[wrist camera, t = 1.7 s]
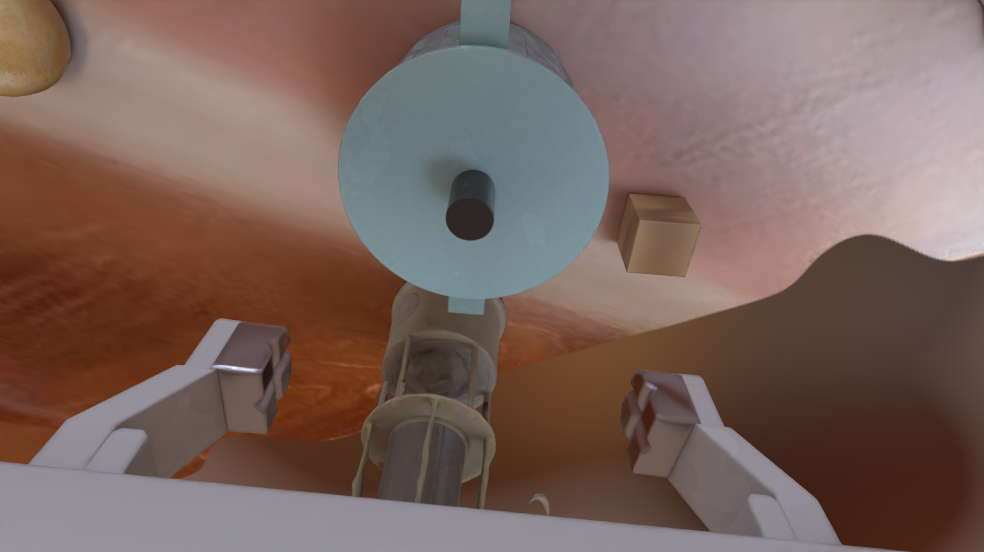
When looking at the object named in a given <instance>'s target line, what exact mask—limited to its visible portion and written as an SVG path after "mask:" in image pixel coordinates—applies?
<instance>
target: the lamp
mask: <svg viewBox="0 0 984 552" xmlns="http://www.w3.org/2000/svg"><path fill="white" fill-rule="evenodd" d="M391 319H392V325H391V328H390V333H389V340H388V344H387V348H386V352H385V355H384V358H383V362H382V376H383V380H384V382H383V388H382V391H381V394H380V397H379V402H378V406H377V407H376V408H375V409H374V410H373V411H372V412H371V413H370V414H369V416H368V417H367V418H366V420H365V422H364V424H363V427H362V431H361V440H362V444H363V446H364V451H363V455H362V458H361V462H360V466H359V469H358V473H357V476H356V477H355V479H354V480H353V483H352V490H353V492H352V497H362V491H363V480H364V472H365V467H366V463H367V460H368V457H370V459H371V460H372V461H373V463H375V464H376V465H377V466H378V467H379V468H381V469H382V470H383V472H382V476H381V480H380V485H379V489H378V493H377V497H376V499H382V500H392V501H402V502H413V503H423V504H433V505H443V506H453V507H459V503H460V493H461V484H462V483H463V482H466V481H468V480H470V479H472V478H474V477H476V476H478V475H479V474H481V478H480V485H479V492H478V499H477V508H476V509H483V506H484V503H485V494H486V488H487V483H488V466H489V464H490V462H491V460H492V458H493V456H494V454H495V448H496V447H495V446H496V445H495V435H494V433H493V430H492V428H491V426H490V425H489V421H490V400H491V393H492V391H493V389H494V387H495V385H496V379H497V361H498V350H499V339H500V338H501V336H502V334H503V331H504V329H505V326H506V323H507V310H506V308H505V306H504V304H503V301H502V300H501V299H500V297H499V298H490V299H485V309H484V314H483V315H479V314H465V313H452V312H448V296H445V295H441V294H437V293H434V292H431V291H428V290H425V289H423V288H420V287H418V286H416V285H414V284H412V283H410V282H408V281H407V282H406V283H405V284H404V285H403V286H402V287H401V288H400V290H399V292H398V293H397V295H396V297H395V299H394V302H393V306H392V312H391ZM388 390H389V391H390V393H391V394H392V395H393V396H394V397H395V398H393V399H390V400H388V401H387V395H388ZM482 403H483V406H482V415H481V414H480V413H479V412H478V411H476V410H475V408H477V407H478V406H480V405H481V404H482ZM379 462H383V463H384V467H381V466H380V464H379ZM537 499H538V500H539V501H540V502H542V503H543V505H544V509H545V513H546V516H548V514H549V501H548V500H547V498H546V497H545V495H544V494H542V493H541V494H535V495H534V497H533V499H532V500H531V501H533V500H537ZM531 501H530V502H531Z"/></svg>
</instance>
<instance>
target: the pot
mask: <svg viewBox="0 0 984 552" xmlns="http://www.w3.org/2000/svg"><path fill="white" fill-rule="evenodd" d="M511 3H512V0H461V12H460V21H454V22H451V23H449V24H447V25H444V26H442V27H440V28H437V29H436V30H434V31H432V32H431V33H429V34H428V35H426V36H424V37H422V38H421V39H419V40H418V42H417V43H416V44H415V45H414V46H413V47H412V49H411V50H410V51H409V52H408V53H407V54H406V56H405V57H404V58H403V59H402V60H401V62H400V63H399V64H401V63H403V62H404V61H406V60H408V59H410V58H413V57H415V56H417V55H420V54H422V53H424V52H428V51H432V50H435V49H439V48H443V47H450V46H458V45H484V46H491V47H497V48H503V49H506V50H510V51H513V52H516V53H520V54H523V55H525V56H527V57H529V58H531V59H533V60H535V61H538V62H540V63H541V64H543V65H544V66H546V67H548V68H549V69H551V70H552V71H554V72H555V73H557V74H558V75H559V76H560V77H561V78H562V79H564V80H565V81H566V82H567V83H568V84H569V85H571V87H572V88H573V89H574V90H575V88H574V85H573V83H572V80H571V78H570V77H569V75H568V73H567V72H566V70H565V68H564V66H563V65H562V63H561V62H560V60H559V59H558V57H557V56H556V54H555V52H554V51H553V50H552V49H551V48H550V47H548V46H547V45H546V44H545V43H544V42H543V41H542V40H540V39H539V38H538V37H537V36H535V35H533V34H532V33H530V32H529V31H527V30H526V29H525V28H522V27H519V26H517V25H515V24H511V23H510V14H511ZM399 64H398V65H399ZM398 65H397V66H398ZM484 309H485V299H464V298H456V297H449V296H448V312H452V313H465V314H479V315H483V314H484Z"/></svg>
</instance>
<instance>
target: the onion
mask: <svg viewBox="0 0 984 552" xmlns="http://www.w3.org/2000/svg"><path fill="white" fill-rule="evenodd" d="M69 38H70V37H69V35H68V31H67V28H66V25H65V23H64V21H63V19H62V18H61V16H60V14H59V12H58V11H57V9H56V8H55V6H54V5H53V4H52V2H51V1H50V0H0V96H10V97H17V96H26V95H31V94H35V93H39V92H41V91H44V90H46V89H48V88H50V87H51V86H53V85H54V84H55V83H56V82H57V81H58V80H59V79H60V78H61V77H62V75H63V73H64V71H65V69H66V67H67V66H68V64H69V63H70V62H69V61H70V59H71V58H72V57H71V51H70V49H71V48H70V47H71V45H70V44H71V43H70V39H69Z"/></svg>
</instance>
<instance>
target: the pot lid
mask: <svg viewBox="0 0 984 552" xmlns="http://www.w3.org/2000/svg"><path fill="white" fill-rule="evenodd" d="M338 180H339V187H340V193H341V198H342V201H343V204H344V208H345V211H346V213H347V216H348V218H349V220H350V222H351V225H352V227H353V228H354V230H355V232H356V233H357V235H358V236H359V238H360V240H361V241H362V242H363V243H364V245H365V246H366V247H367V249H368V250H369V251H370V252H371V253H372V254H373V255H374V256H375V257H376V258H377V259H378V260H379V261H380V262H381V263H382V264H383V265H384V266H386V267H387V268H388V269H389V270H391V271H392V272H393V273H395V274H396V275H398V276H399V277H401V278H403V279H404V280H406V281H408V282H410V283H412V284H414V285H416V286H418V287H420V288H423V289H425V290H428V291H431V292H434V293H437V294H441V295H445V296H449V297H456V298H464V299H490V298H499V297H505V296H510V295H514V294H517V293H520V292H524V291H527V290H529V289H531V288H534V287H536V286H538V285H541V284H542V283H544V282H546V281H548V280H549V279H551V278H553V277H554V276H556V275H557V274H558V273H560V272H561V271H562V270H564V269H565V268H566V267H568V266H569V265H570V264H571V263H572V262H573V261H574V260H575V259H576V258H577V257H578V256H579V255H580V253H581V252H582V251H583V250H584V248H585V247H586V246H587V245H588V243H589V241H590V240H591V238H592V237H593V235H594V233H595V232H596V230H597V227H598V225H599V223H600V221H601V218H602V216H603V213H604V209H605V206H606V202H607V196H608V189H609V164H608V157H607V150H606V147H605V144H604V140H603V137H602V134H601V131H600V129H599V127H598V125H597V123H596V121H595V118H594V116H593V114H592V113H591V111H590V110H589V108H588V107H587V105H586V104H585V102H584V101H583V99H582V98H581V97H580V96H579V95H578V93H577V92H576V91H575V90H574V89H573V88H572V87H571V85H569V84H568V83H567V82H566V81H565V80H564V79H562V78H561V77H560V76H559V75H558V74H557V73H555V72H554V71H552V70H551V69H549V68H548V67H546V66H544V65H543V64H541V63H540V62H538V61H535V60H533V59H531V58H529V57H527V56H525V55H523V54H520V53H516V52H513V51H510V50H506V49H503V48H497V47H491V46H484V45H458V46H450V47H443V48H439V49H435V50H432V51H428V52H424V53H422V54H420V55H417V56H415V57H413V58H410V59H408V60H406V61H404V62H403V63H401V64H399V65H398V66H396V67H394V68H393V69H391V70H390V71H389V72H387V73H386V74H385V75H384V76H383V77H381V78H380V79H379V80H378V81H377V82H376V83H375V84H374V85H373V86H372V87H371V88H370V89H369V91H368V92H367V93H366V94H365V95H364V96H363V98H362V99H361V101H360V102H359V104H358V105H357V107H356V108H355V110H354V111H353V113H352V115H351V117H350V119H349V122H348V124H347V126H346V128H345V131H344V135H343V138H342V142H341V145H340V152H339V160H338Z"/></svg>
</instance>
